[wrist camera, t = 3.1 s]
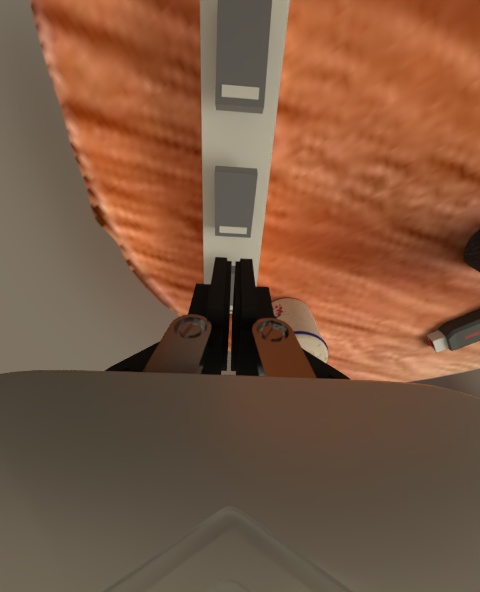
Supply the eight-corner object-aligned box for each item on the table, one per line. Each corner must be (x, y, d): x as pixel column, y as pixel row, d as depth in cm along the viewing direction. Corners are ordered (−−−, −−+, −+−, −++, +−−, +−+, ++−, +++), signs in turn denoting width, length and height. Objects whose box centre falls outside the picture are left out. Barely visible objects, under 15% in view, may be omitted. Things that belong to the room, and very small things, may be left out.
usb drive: (504, 318, 43) (519, 329, 41) (430, 347, 47) (440, 359, 45) (502, 297, 41) (518, 307, 39) (424, 330, 45) (434, 341, 42)
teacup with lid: (270, 289, 39) (281, 342, 29) (322, 304, 41) (349, 359, 31) (244, 343, 45) (246, 402, 36) (291, 355, 47) (305, 414, 37)
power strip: (202, -84, 20) (193, -138, 16) (292, -74, 20) (305, -124, 16) (205, 296, 40) (202, 315, 36) (251, 299, 40) (253, 318, 36)
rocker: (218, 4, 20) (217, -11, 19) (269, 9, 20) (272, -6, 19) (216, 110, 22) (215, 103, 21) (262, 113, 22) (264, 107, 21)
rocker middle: (215, 165, 24) (214, 172, 23) (257, 168, 25) (257, 175, 24) (215, 228, 30) (214, 236, 29) (250, 230, 30) (250, 238, 29)
